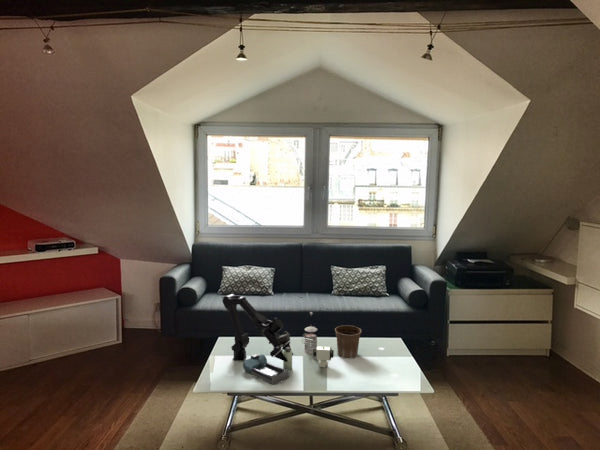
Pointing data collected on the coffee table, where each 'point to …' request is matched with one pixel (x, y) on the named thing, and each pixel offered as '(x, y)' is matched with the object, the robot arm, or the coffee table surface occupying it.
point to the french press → (313, 342)
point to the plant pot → (347, 341)
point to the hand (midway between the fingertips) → (290, 358)
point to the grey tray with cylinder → (265, 369)
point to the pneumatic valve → (323, 355)
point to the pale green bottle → (288, 355)
